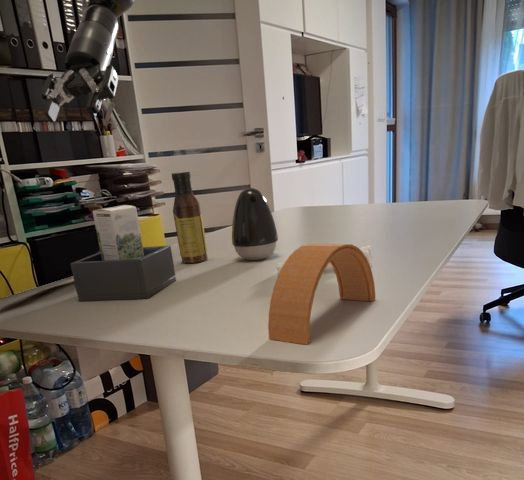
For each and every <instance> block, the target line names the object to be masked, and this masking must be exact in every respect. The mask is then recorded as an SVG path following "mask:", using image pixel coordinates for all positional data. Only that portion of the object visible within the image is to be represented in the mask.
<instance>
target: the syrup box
mask: <svg viewBox="0 0 524 480" xmlns="http://www.w3.org/2000/svg"><path fill="white" fill-rule="evenodd" d="M138 216H139V215H138V210H137V207H136V206H134V205H129V204H122V205H116V206H110V207H104V208H103V209H98V210H93V217H94V221H93V222H94V226H95V231H96V237H97V240H98V241H97V242H98V246H99V249H100V252H101V257H102V261H108V260H126V259H139V258H141V257H144V252H143V247H144V246H143V241H142V234H141V229H140V222H139V217H138Z"/></svg>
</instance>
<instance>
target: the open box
mask: <svg viewBox="0 0 524 480" xmlns="http://www.w3.org/2000/svg"><path fill="white" fill-rule="evenodd" d="M143 252H144V257H141V258H139V259H126V260H108V261H102V257H101V252H99V253H98V252H96V253H94V254H91V255H88V256H86V257H84V258H81V259H79V260H76V261H73V262H70V265H69V266H70V269H71V273H72V277H73V281H74V282H73V283H74V287H75V290H76V291H75V292H76V295H77V299H78V301H79V302H93V301H120V300H121V301H123V300H125V301H127V300H148V299H150V298H152V297H153V296H155V295H157V294H158V293H159V292H160V291H162V290H164V289H166V288H167V287H169V286H170V285H172V284H174V282H176V281H177V276H176V272H175V271H176V270H175V264H174V259H173V251H172V246H171V245H157V246H143Z"/></svg>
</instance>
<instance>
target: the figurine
mask: <svg viewBox="0 0 524 480" xmlns="http://www.w3.org/2000/svg"><path fill="white" fill-rule="evenodd" d="M350 245H354V246H355V243H352V244H351V243H350ZM358 248H359V249H360V250H361V251H362V252H363V253H364V255H365V256H366V258H367V260H368V262H369V265H370V268H371V267H373V255H372V254H373V253H372V249H371V248H372V247H371V245H365V246H361V247H358ZM286 261H287V260H285V261H283V262H278V263H277V264H276V266H275V268H276V271H277V272H278V273H280V271H281V269H282V267H283V265H284V263H285V262H286ZM371 269H372V268H371ZM327 270H334V268H333V266H332V265H331V263H330V262H329V264H328V265H327V267H326V268H325V270H324V271H327Z"/></svg>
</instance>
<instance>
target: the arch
mask: <svg viewBox="0 0 524 480" xmlns="http://www.w3.org/2000/svg"><path fill="white" fill-rule="evenodd" d="M359 248H360V247H358V246H356V245H355V244H354V245H351V244H347V243H346V244H345V243H344V244H342V243H336V244H335V243H306V244H303V245H300V246H299V247H298V248H296V249H295V250H294V251H293V252H292V253H291V254H290V255H289V256H288V257H287V259H286V260H285V261H286V262H285V261H284V262H285V263H284V265H283V267H282V269H281V271H280V272H278V275H277V277H276V281H275V284H274V286H273V289H272V294H271V297H270V303H269V310H268V322H267V323H268V324H267V328H268V329H267V330H268V340H273V341H280V342H286V343H293V344H298V345H299V344H300V345H308V344H310V342H311V338H310V337H311V335H310V333H311V332H310V327H311V314H312V308H313V303H314V298H315V295H316V292H317V288H318V285H319V282H320V280H321V278H322V275H323V273H324V272H325V271H326V270H325V268H326V267H327V265H328V264H329V262H330V263H331V265H332V266H333V268H334V269H333V271H334V274H335V277H336V281H337V285H338V293H339V299H340V300H341V299H343V300H350V301H351V300H352V301H361V302H362V301H363V302H374V301H376V286H375V280H374V275H373V271H372V268H370V265H369V262H368V260H367V258H366V256H365V255H364V253H363V252H362V251H361V250H360V249H359Z"/></svg>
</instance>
